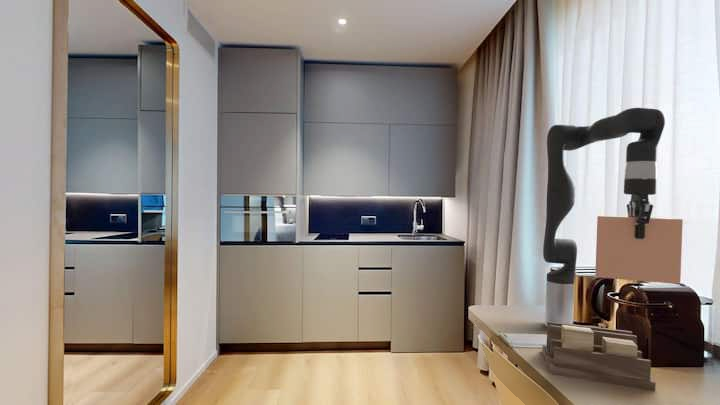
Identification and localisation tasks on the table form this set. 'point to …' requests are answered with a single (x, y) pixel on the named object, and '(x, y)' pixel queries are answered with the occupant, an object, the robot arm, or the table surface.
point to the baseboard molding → (524, 340)
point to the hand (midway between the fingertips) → (637, 237)
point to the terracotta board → (639, 250)
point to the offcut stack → (585, 340)
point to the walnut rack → (597, 359)
